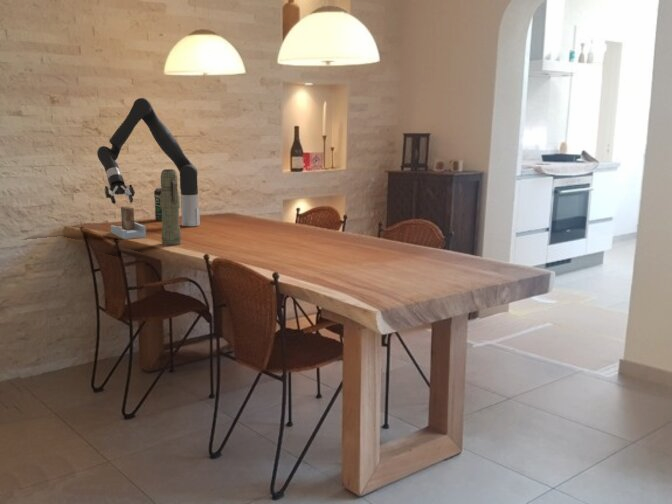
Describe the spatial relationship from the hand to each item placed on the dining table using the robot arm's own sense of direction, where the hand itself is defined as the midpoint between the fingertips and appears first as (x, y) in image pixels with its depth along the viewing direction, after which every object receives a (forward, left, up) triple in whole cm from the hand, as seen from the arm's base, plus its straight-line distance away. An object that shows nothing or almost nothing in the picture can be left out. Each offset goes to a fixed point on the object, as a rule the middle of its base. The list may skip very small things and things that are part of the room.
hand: (123, 202), depth 345 cm
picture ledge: (-3, +5, -16) cm, 17 cm away
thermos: (-31, +28, -16) cm, 45 cm away
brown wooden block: (-4, +5, -13) cm, 14 cm away
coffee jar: (-7, -46, -16) cm, 49 cm away
